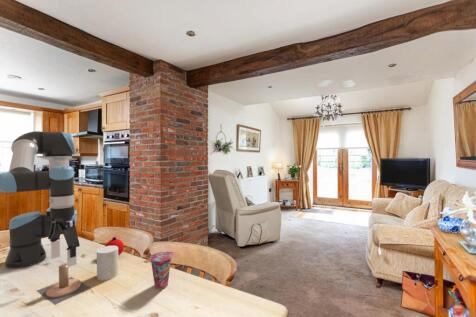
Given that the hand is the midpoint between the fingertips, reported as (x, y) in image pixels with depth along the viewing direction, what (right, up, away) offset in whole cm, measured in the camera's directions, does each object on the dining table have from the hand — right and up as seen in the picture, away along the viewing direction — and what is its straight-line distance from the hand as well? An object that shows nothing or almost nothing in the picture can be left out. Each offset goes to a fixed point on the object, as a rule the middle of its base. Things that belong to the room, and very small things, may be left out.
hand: (63, 261), depth 92 cm
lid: (0, -11, +1) cm, 11 cm away
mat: (0, -12, +1) cm, 12 cm away
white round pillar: (+11, -12, +11) cm, 20 cm away
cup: (+37, -12, +5) cm, 39 cm away
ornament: (+4, -11, +31) cm, 33 cm away
